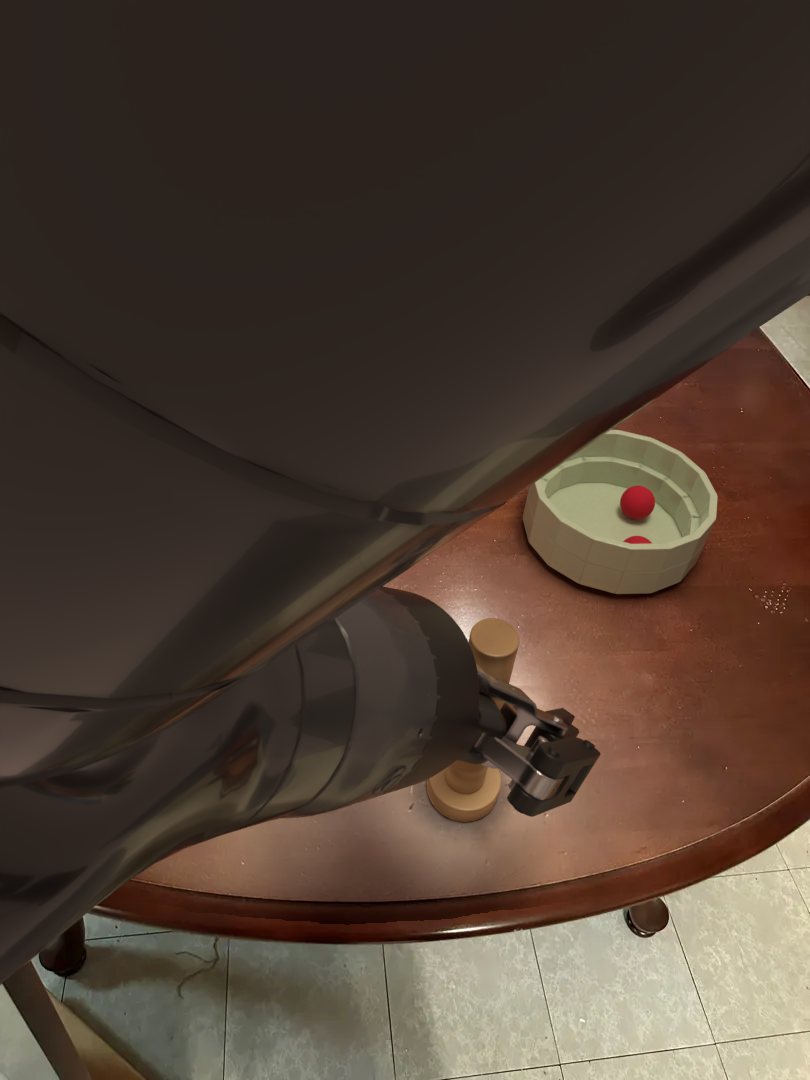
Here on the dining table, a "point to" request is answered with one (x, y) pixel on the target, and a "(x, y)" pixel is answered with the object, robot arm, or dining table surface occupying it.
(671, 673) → the dining table surface
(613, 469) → the bowl
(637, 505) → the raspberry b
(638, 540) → the red ball
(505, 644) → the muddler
